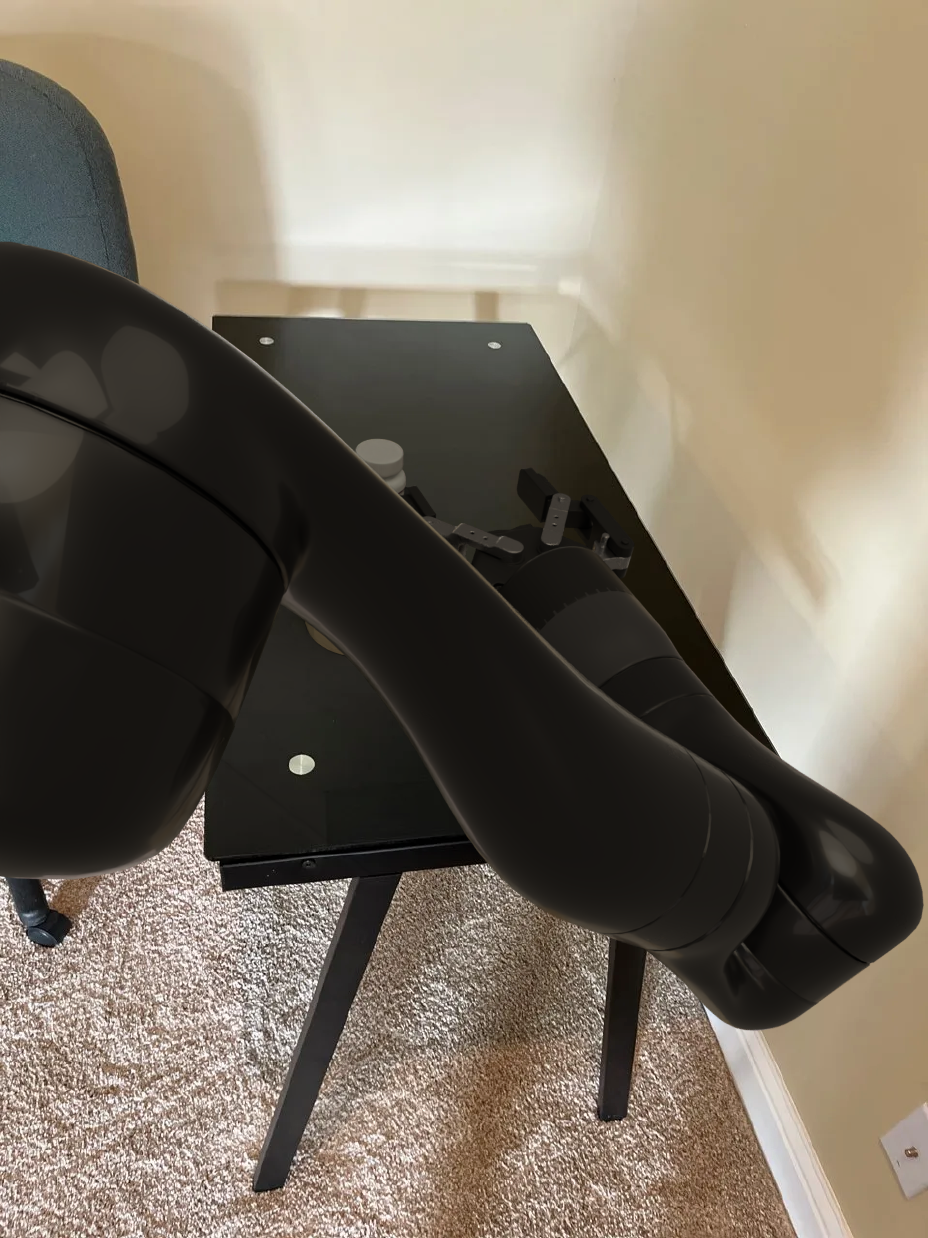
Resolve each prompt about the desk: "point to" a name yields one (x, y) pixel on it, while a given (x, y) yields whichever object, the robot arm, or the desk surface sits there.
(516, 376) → the desk surface
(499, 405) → the desk surface
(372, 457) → the pill bottle
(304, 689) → the desk surface
